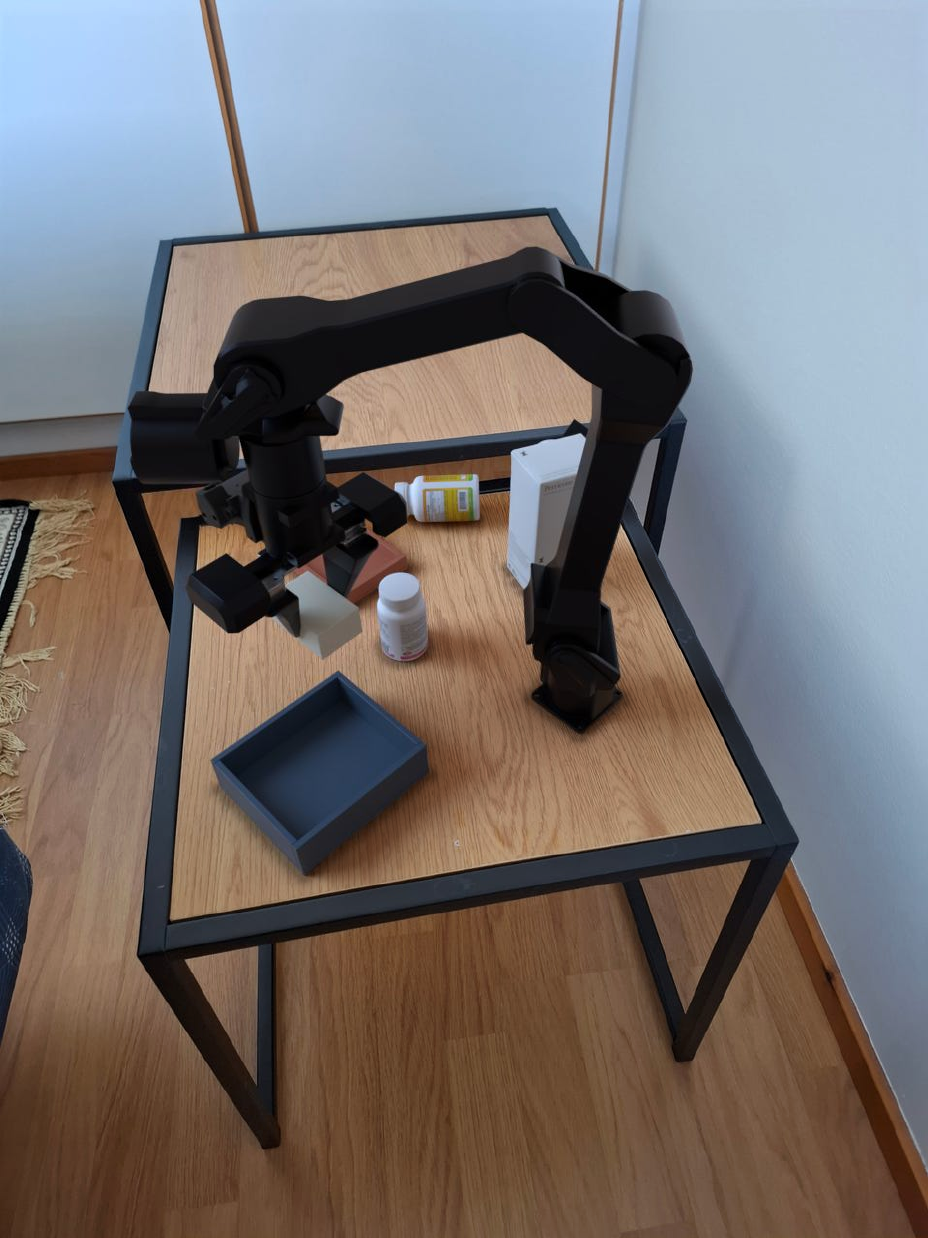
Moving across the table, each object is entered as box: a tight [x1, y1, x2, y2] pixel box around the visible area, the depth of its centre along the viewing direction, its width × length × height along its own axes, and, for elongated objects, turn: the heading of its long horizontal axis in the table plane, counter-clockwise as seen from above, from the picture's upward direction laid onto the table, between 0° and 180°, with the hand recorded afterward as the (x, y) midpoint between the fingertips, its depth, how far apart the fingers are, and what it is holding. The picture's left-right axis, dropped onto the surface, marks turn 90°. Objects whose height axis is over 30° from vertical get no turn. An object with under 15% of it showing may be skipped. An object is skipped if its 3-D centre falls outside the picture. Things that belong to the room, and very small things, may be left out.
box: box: [209, 670, 430, 876], centre depth 77 cm, size 12×14×4 cm
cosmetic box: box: [506, 434, 586, 590], centre depth 91 cm, size 8×7×16 cm
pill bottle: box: [376, 572, 429, 662], centre depth 87 cm, size 5×5×8 cm
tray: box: [292, 526, 408, 605], centre depth 97 cm, size 11×9×2 cm
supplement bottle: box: [394, 473, 481, 523], centre depth 102 cm, size 5×5×10 cm
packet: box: [271, 571, 363, 661], centre depth 76 cm, size 7×5×3 cm, turn 46°
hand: (316, 619), depth 77 cm, fingers closed on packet, 4 cm apart
